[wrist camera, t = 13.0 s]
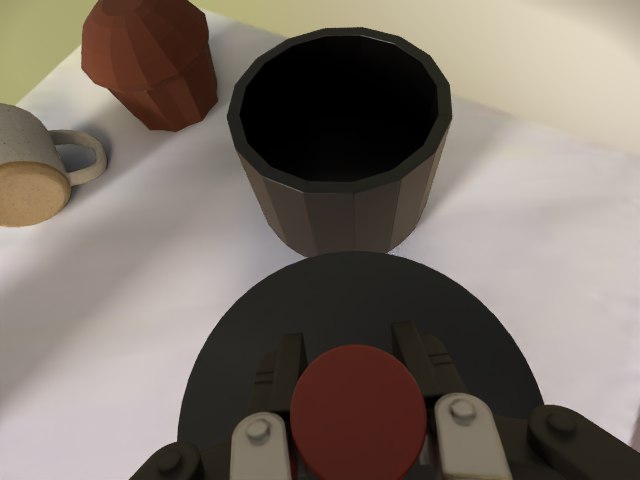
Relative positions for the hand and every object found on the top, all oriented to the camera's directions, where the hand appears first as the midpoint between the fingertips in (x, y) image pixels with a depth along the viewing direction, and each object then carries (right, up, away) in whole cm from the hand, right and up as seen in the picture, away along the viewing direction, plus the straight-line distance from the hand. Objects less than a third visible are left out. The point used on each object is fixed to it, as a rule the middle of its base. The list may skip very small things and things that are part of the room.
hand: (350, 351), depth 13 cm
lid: (+1, -4, +3) cm, 4 cm away
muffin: (-16, +18, +26) cm, 36 cm away
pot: (+1, +8, +19) cm, 21 cm away
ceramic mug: (-26, +9, +23) cm, 36 cm away
